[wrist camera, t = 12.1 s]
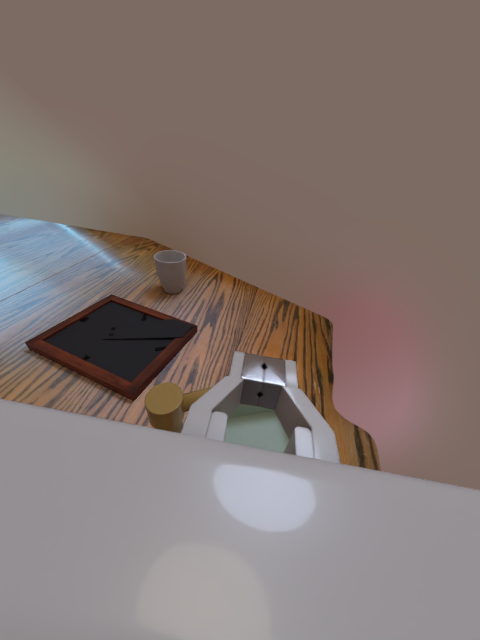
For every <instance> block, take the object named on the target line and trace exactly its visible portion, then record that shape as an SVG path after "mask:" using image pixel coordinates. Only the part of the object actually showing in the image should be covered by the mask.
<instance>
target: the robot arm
mask: <svg viewBox="0 0 480 640" xmlns="http://www.w3.org/2000/svg"><path fill="white" fill-rule="evenodd" d="M244 355H245V356H244ZM240 404H246V405H252V406H258V407H263V408H268V409H273V410H274V411H275V413H276V415H277V417H278V419H279V421H280V423H281V425H282V427H283V429H284V431H285V432H286V434H287V436H288V438H289V442H288V444H287V446H286V448H285V450H284V452H283V453H282V452H277V451H271V450H266V449H261V448H255V447H250V446H245V445H240V444H234V443H229V442H225V435H226V427H227V419H228V418H229V416H230V415H231V414H232V413H233V412H234V411H235V409H236V408H237V407H238V406H239V405H240ZM0 640H480V490H477V489H471V488H466V487H461V486H455V485H449V484H445V483H439V482H434V481H429V480H424V479H418V478H413V477H408V476H403V475H398V474H392V473H387V472H382V471H377V470H371V469H366V468H361V467H356V466H350V465H345V464H341V463H340V458H339V453H338V448H337V443H336V438H335V433H334V431H333V430H332V429H331V427H330V426H329V425H328V423H327V422H326V421H325V420H324V418H323V417H322V416H321V414H320V413H319V412H318V411H317V409H316V408H315V407H314V405H313V404H312V403H311V401H310V400H309V399H308V398H307V396H306V395H305V394H304V392H303V391H302V390H301V389H298V382H297V371H296V362H295V361H290V360H283V359H277V358H271V357H265V356H259V355H254V354H248V353H242V352H237V351H235V352H234V355H233V360H232V364H231V369H230V373H229V377H228V376H225V377H224V378H223V379H222V380H221V381H219V382H218V383H217V384H216V385H215V386H213V387H212V388H211V389H210V390H209V391H207V392H206V393H205V394H204V395H203V396H201V397H200V398H199V399H198V400H197V401H196V402H194V403H193V404H192V405H191V406H190V409H189V412H188V414H187V417H186V420H185V423H184V426H183V428H182V431H181V433H176V432H171V431H166V430H161V429H155V428H150V427H145V426H140V425H134V424H129V423H124V422H119V421H113V420H108V419H103V418H98V417H93V416H87V415H82V414H77V413H72V412H66V411H61V410H56V409H51V408H45V407H40V406H35V405H30V404H24V403H19V402H14V401H9V400H3V399H0Z"/></svg>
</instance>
